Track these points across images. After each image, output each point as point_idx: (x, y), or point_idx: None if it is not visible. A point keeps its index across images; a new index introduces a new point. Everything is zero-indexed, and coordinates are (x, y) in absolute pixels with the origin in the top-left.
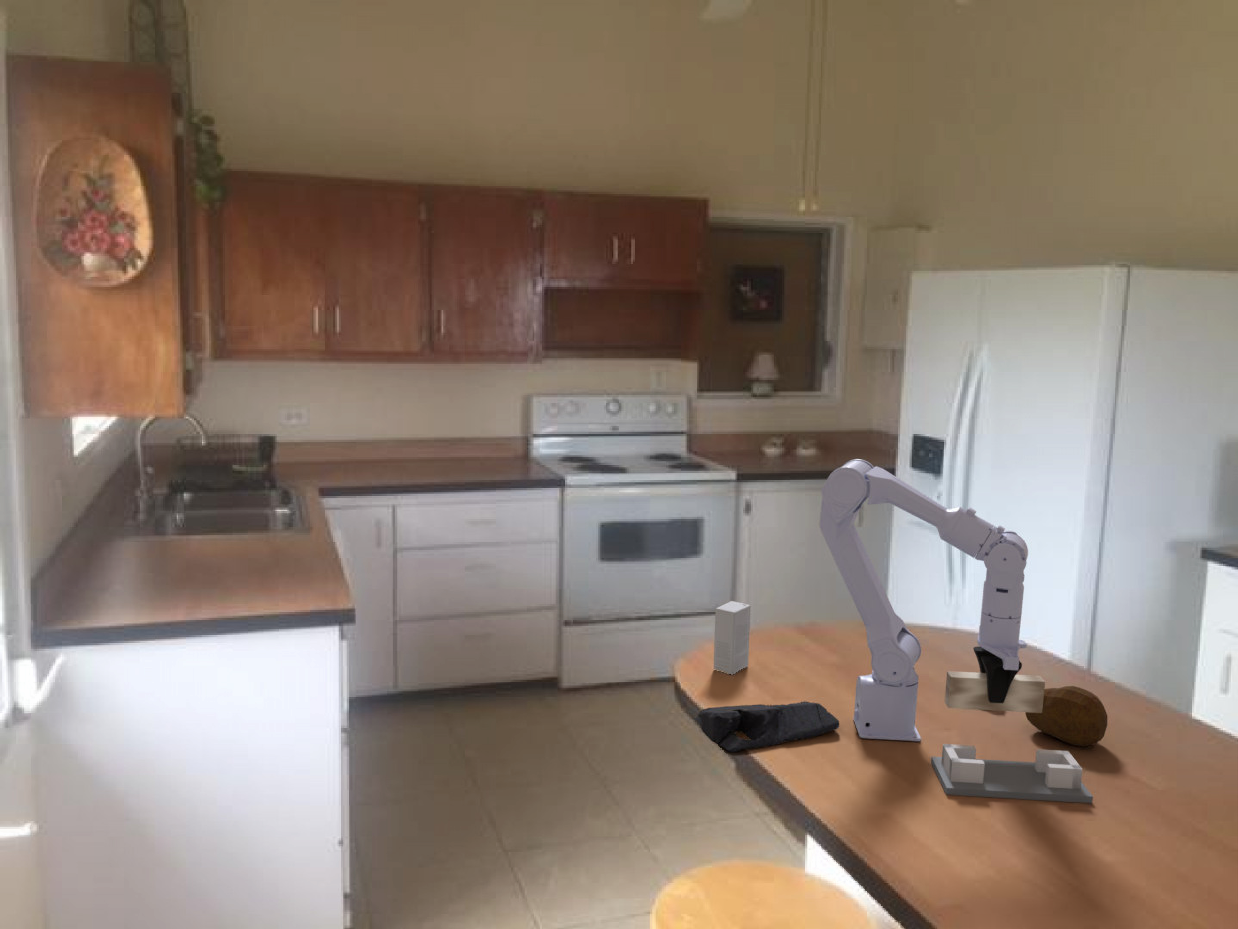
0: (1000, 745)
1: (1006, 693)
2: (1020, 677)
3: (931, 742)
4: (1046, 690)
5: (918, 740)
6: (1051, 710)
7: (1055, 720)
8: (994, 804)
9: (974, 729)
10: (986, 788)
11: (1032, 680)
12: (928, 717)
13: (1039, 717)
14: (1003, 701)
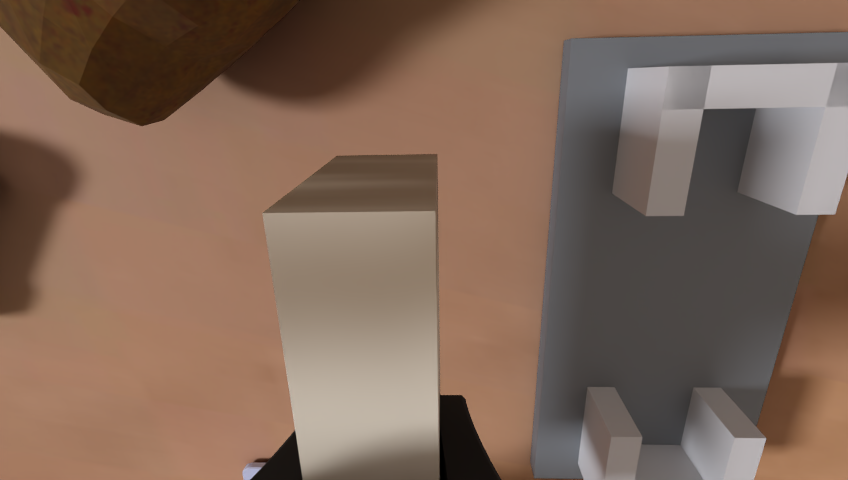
0: None
1: (476, 436)
2: (360, 399)
3: None
4: (31, 4)
5: None
6: (224, 18)
7: (272, 6)
8: (799, 361)
9: (246, 292)
10: (755, 385)
11: (418, 322)
12: (190, 407)
13: (210, 69)
14: (466, 405)
